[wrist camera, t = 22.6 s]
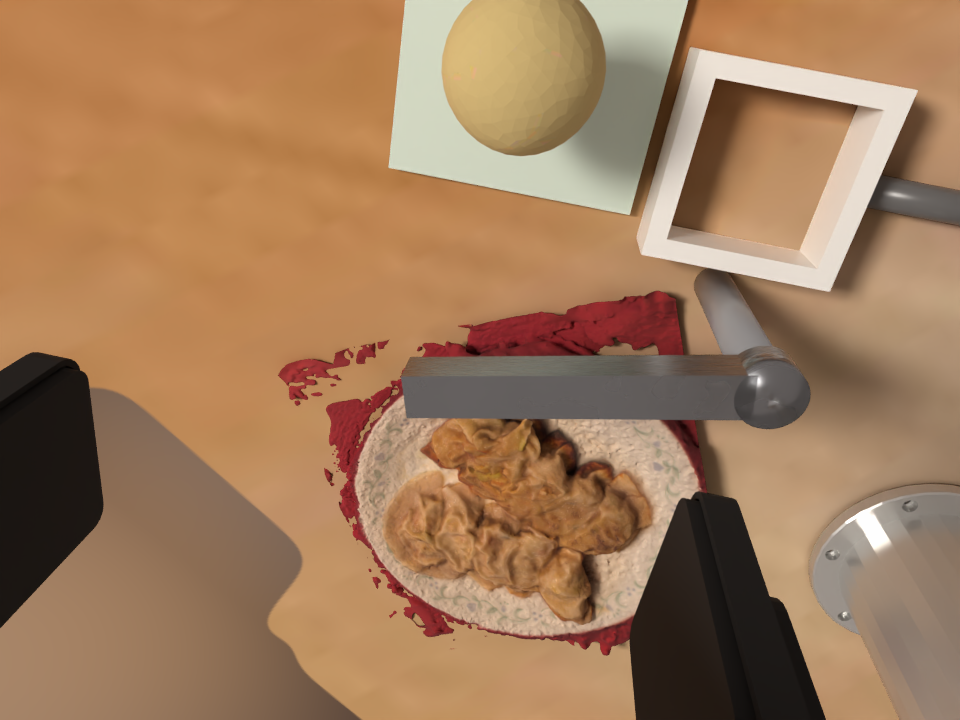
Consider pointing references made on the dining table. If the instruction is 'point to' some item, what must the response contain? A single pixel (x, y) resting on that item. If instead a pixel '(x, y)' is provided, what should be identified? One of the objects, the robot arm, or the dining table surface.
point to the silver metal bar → (610, 387)
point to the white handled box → (835, 215)
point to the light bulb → (523, 72)
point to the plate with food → (517, 488)
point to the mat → (570, 166)
